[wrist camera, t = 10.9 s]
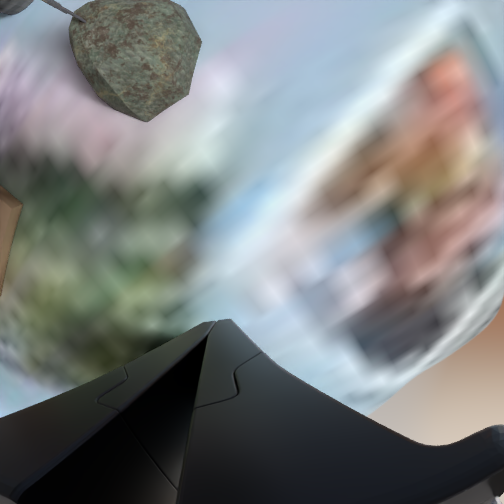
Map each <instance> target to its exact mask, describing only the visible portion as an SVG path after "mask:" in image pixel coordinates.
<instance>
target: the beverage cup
mask: <svg viewBox="0 0 504 504" xmlns="http://www.w3.org/2000/svg"><path fill="white" fill-rule="evenodd" d="M32 2H33V0H0V13H7V14H10V15H14V14H17V13H19V12H21V11H22V10H24V9H25V8H26V7H27V6H29V5H30V4H31V3H32Z"/></svg>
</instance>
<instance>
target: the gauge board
mask: <svg viewBox="0 0 504 504" xmlns="http://www.w3.org/2000/svg"><path fill="white" fill-rule="evenodd" d="M22 206H23V204H22V203H21V202H20V201H19V200H17V199H16V198H15V197H14V196H13V195H11V194H10V193H9V192H8V191H7V190H5V189H4V188H3V187H2V186H1V185H0V296H1V293H2V287H3V281H4V276H5V271H6V266H7V262H8V257H9V253H10V249H11V245H12V241H13V237H14V233H15V230H16V226H17V223H18V219H19V216H20V213H21V209H22Z"/></svg>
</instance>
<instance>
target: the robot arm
mask: <svg viewBox="0 0 504 504" xmlns="http://www.w3.org/2000/svg"><path fill="white" fill-rule="evenodd" d="M503 493H504V425H494V426H490V427H487V428H485V429H483V430H481V431H478V432H476V433H474V434H472V435H470V436H468V437H466V438H464V439H462V440H460V441H457V442H454V443H451V444H448V445H440V446H431V445H424V444H421V443H418V442H416V441H413V440H411V439H409V438H407V437H405V436H403V435H401V434H399V433H397V432H395V431H393V430H391V429H389V428H387V427H385V426H383V425H381V424H379V423H377V422H375V421H374V420H372V419H370V418H368V417H366V416H364V415H362V414H360V413H359V412H357V411H355V410H353V409H351V408H349V407H348V406H346V405H344V404H342V403H340V402H339V401H337V400H335V399H333V398H332V397H330V396H328V395H326V394H325V393H323V392H321V391H319V390H318V389H316V388H314V387H312V386H311V385H309V384H307V383H306V382H304V381H302V380H301V379H299V378H297V377H296V376H294V375H292V374H291V373H289V372H288V371H286V370H285V369H283V368H282V367H280V366H279V365H278V364H276V363H275V362H274V361H273V360H272V359H271V358H270V357H269V356H268V355H267V354H266V353H264V352H263V351H262V350H261V349H260V348H259V347H258V346H257V345H256V344H255V343H254V342H253V341H252V340H251V339H250V338H249V337H248V336H247V335H246V334H245V333H244V332H243V331H242V330H241V329H240V328H239V327H238V326H237V325H236V324H235V323H234V322H233V321H232V320H231V319H224V320H218V321H217V322H216V321H209V322H203V323H201V324H199V325H198V326H196V327H194V328H192V329H190V330H189V331H187V332H185V333H183V334H181V335H179V336H178V337H176V338H174V339H172V340H170V341H168V342H167V343H165V344H163V345H161V346H159V347H157V348H156V349H154V350H152V351H148V352H146V354H144V355H142V356H141V357H139V358H137V359H135V360H133V361H131V362H129V363H127V364H125V365H124V367H123V366H120V367H119V368H117V369H115V370H113V371H111V372H109V373H107V374H105V375H103V376H101V377H99V378H97V379H94V380H92V381H90V382H88V383H85V384H83V385H81V386H79V387H76V388H74V389H72V390H69V391H67V392H65V393H62V394H60V395H57V396H55V397H52V398H50V399H48V400H45V401H43V402H40V403H38V404H35V405H33V406H30V407H27V408H25V409H22V410H20V411H17V412H15V413H12V414H9V415H7V416H4V417H1V418H0V504H502V503H501V501H500V499H499V497H500V496H501V495H502V494H503Z"/></svg>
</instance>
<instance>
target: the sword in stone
mask: <svg viewBox="0 0 504 504" xmlns="http://www.w3.org/2000/svg"><path fill="white" fill-rule="evenodd" d="M42 1H44V2H45V3H47V4H49V5H51V6H53V7H54V8H57V9H59V10H60V11H62V12H64V13H66V14H67V13H68V14H70V15H72V16H73V17H72V20H71V23H70V26H69V37H70V44H71V47H72V50H73V53H74V56H75V59H76V61H77V64H78V66H79V68H80V69H81V71H82V72H83V74H84V75H85V77H86V79H87V80H88V82H89V83H90V85H91V86H92V88H93V89H94V91H95V92H96V94H97V95H98V97H100V98H101V99H102V100H103V101H105V102H106V103H107V104H108V105H110V106H111V107H112V108H113V109H115V110H117V111H120V112H122V113H125V114H127V115H130V116H132V117H135V118H137V119H140V120H142V121H145V122H148V121H150V120H151V119H153V118H154V117H155V116H157V115H158V114H160V113H161V112H162V111H164V110H165V109H167V108H168V107H170V106H171V105H173V104H174V103H176V102H177V101H179V100H181V99H182V98H184V97H185V96H187V95H188V94H189V90H190V85H191V81H192V77H193V73H194V69H195V65H196V61H197V58H198V54H199V51H200V47H201V44H202V41H201V39H200V37H199V35H198V33H197V32H196V30H195V28H194V26H193V24H192V22H191V20H190V18H189V16H188V14H187V12H186V10H185V9H184V8H183V7H182V6H181V5H179V4H177V3H174V2H172V1H170V0H95V1H91V2H88V3H86V4H85V5H83V6H82V7H80V8H79V9H77V10H76V11H74V13H73V12H71V11H69V10H68V9H66V8H64V7H62V6H61V4H59V3H57V2H56V1H54V0H42Z"/></svg>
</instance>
